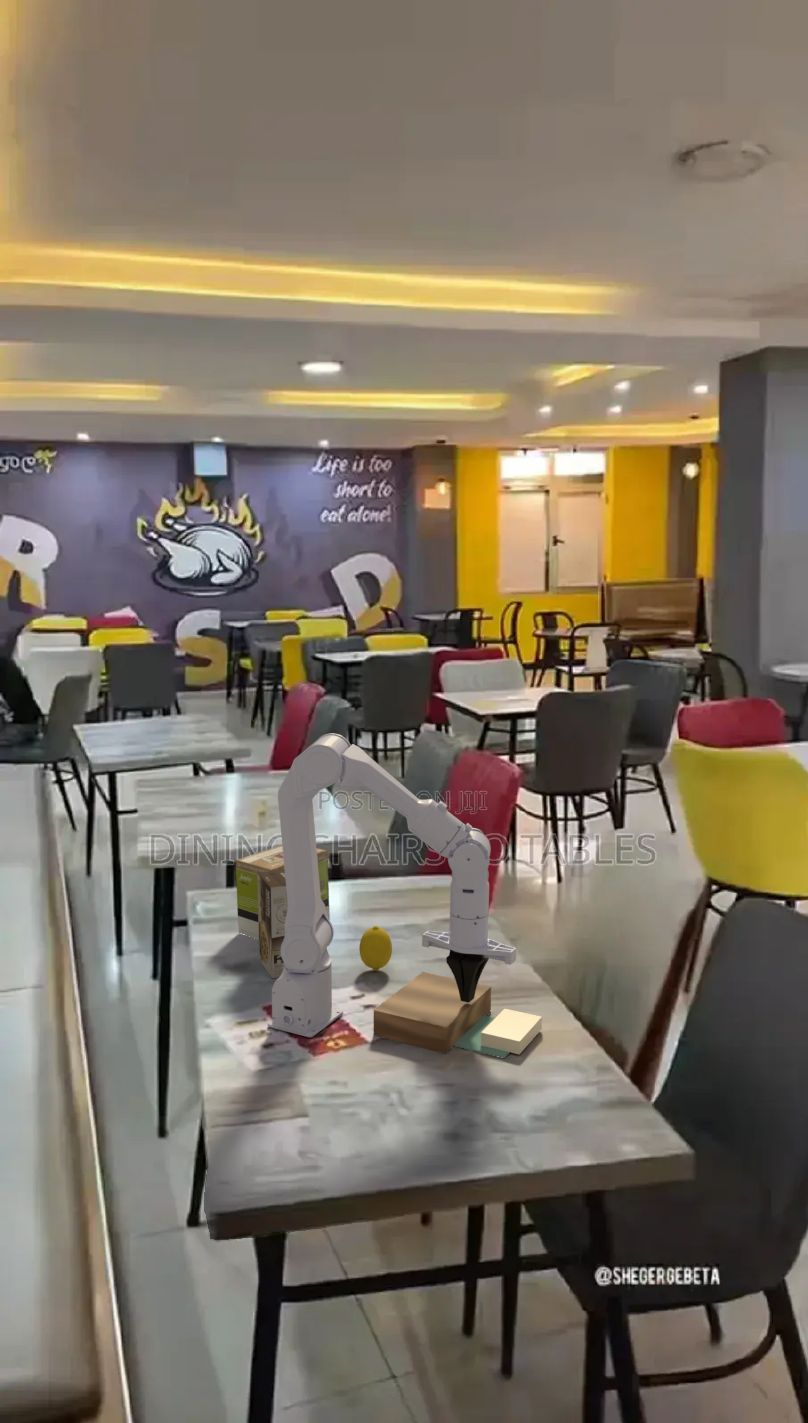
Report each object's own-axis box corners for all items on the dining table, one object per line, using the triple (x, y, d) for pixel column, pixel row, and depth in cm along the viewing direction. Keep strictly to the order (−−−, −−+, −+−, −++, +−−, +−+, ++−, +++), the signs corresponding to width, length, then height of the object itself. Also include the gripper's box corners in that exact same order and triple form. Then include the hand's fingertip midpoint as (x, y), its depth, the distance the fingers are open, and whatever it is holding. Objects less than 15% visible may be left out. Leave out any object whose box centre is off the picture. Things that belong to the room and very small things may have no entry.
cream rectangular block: (480, 1032, 156) (480, 1045, 157) (519, 1041, 154) (519, 1054, 154) (504, 1008, 164) (504, 1020, 165) (541, 1016, 161) (541, 1029, 162)
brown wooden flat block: (446, 1053, 155) (446, 1027, 154) (373, 1035, 160) (373, 1009, 160) (490, 1010, 169) (491, 986, 168) (422, 995, 174) (422, 971, 174)
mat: (504, 1058, 153) (504, 1056, 153) (453, 1046, 157) (453, 1044, 157) (532, 1028, 163) (532, 1026, 163) (484, 1016, 167) (484, 1014, 167)
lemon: (378, 980, 180) (378, 934, 179) (353, 971, 183) (352, 927, 182) (398, 969, 184) (398, 925, 183) (373, 961, 188) (373, 918, 186)
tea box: (293, 912, 212) (292, 839, 210) (330, 924, 206) (330, 849, 204) (236, 934, 201) (234, 857, 198) (273, 947, 195) (272, 868, 192)
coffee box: (308, 973, 183) (307, 882, 180) (271, 979, 180) (269, 886, 178) (293, 954, 191) (292, 866, 188) (258, 959, 189) (256, 870, 186)
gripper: (525, 912, 160) (522, 999, 162) (437, 896, 166) (436, 979, 168) (506, 927, 153) (504, 1017, 156) (416, 910, 160) (415, 996, 162)
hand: (467, 999), depth 162 cm, fingers closed
